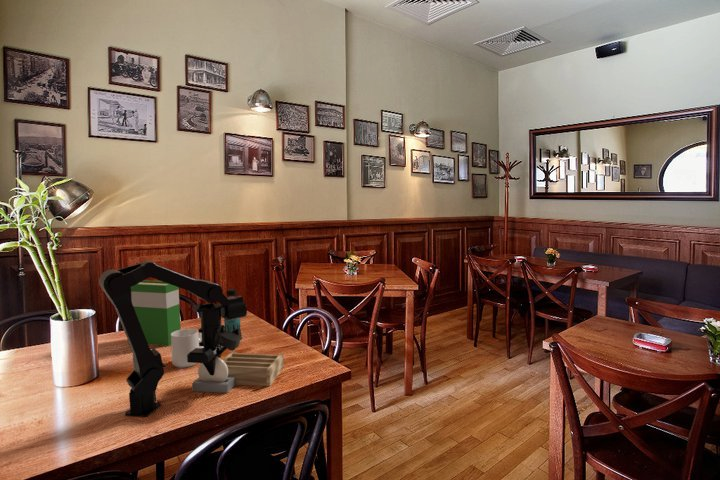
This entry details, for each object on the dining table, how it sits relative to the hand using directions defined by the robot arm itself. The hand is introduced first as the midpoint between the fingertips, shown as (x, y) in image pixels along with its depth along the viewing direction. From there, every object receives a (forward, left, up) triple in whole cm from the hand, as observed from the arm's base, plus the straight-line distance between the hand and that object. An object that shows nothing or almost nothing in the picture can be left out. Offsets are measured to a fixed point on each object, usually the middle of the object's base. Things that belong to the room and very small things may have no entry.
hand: (213, 374), depth 123 cm
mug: (+19, +18, -5) cm, 26 cm away
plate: (0, 0, +1) cm, 1 cm away
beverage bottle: (+46, +14, -5) cm, 48 cm away
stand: (0, 0, -4) cm, 4 cm away
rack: (+10, -8, -4) cm, 13 cm away
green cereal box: (+38, +43, -5) cm, 57 cm away
